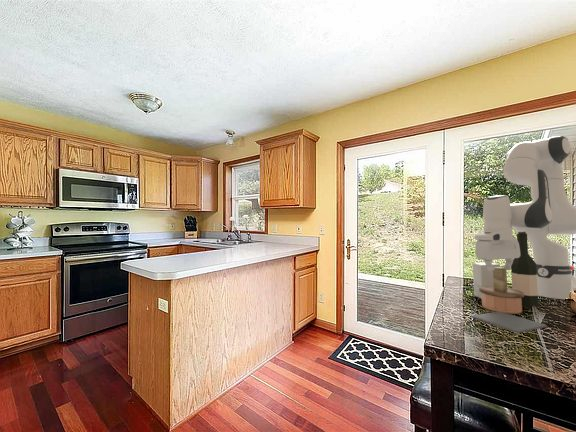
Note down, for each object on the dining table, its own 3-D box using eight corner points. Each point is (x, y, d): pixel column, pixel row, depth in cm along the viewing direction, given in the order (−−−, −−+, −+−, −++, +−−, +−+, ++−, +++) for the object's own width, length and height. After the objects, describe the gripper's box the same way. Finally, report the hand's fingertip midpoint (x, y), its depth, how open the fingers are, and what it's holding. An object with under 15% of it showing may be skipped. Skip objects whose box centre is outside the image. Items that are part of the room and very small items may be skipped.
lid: (494, 287, 108) (493, 264, 109) (533, 295, 96) (531, 269, 96) (471, 290, 104) (470, 266, 105) (508, 299, 91) (507, 272, 92)
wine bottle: (517, 305, 103) (513, 232, 104) (508, 299, 111) (505, 231, 112) (544, 307, 100) (540, 231, 101) (533, 301, 108) (529, 231, 109)
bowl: (495, 302, 107) (494, 288, 108) (529, 311, 96) (529, 295, 96) (475, 305, 104) (474, 290, 104) (508, 315, 92) (507, 298, 92)
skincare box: (492, 295, 117) (490, 262, 118) (502, 300, 111) (501, 264, 111) (473, 295, 118) (471, 262, 118) (482, 299, 111) (480, 264, 112)
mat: (499, 312, 95) (499, 311, 95) (546, 326, 82) (546, 324, 82) (472, 317, 91) (471, 315, 91) (517, 333, 78) (517, 331, 78)
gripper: (506, 234, 107) (508, 267, 106) (471, 235, 101) (472, 270, 100) (524, 235, 101) (526, 270, 100) (488, 236, 95) (489, 273, 94)
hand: (499, 270), depth 100 cm, fingers open, 8 cm apart
